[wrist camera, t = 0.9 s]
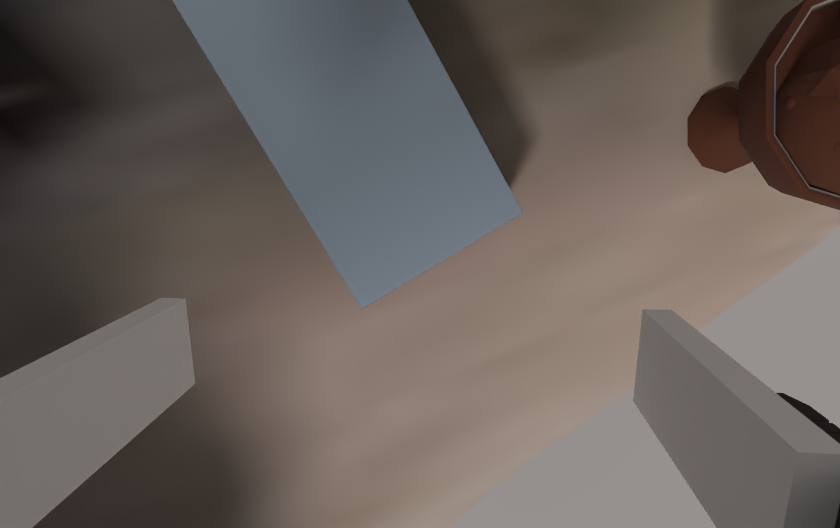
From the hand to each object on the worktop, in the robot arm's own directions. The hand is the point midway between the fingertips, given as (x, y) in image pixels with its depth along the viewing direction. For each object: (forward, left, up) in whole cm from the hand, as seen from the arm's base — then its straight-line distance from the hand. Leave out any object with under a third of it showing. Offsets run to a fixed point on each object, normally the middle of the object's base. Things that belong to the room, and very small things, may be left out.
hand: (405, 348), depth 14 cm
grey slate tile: (+3, +9, -17) cm, 20 cm away
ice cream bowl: (+24, -3, -17) cm, 30 cm away
